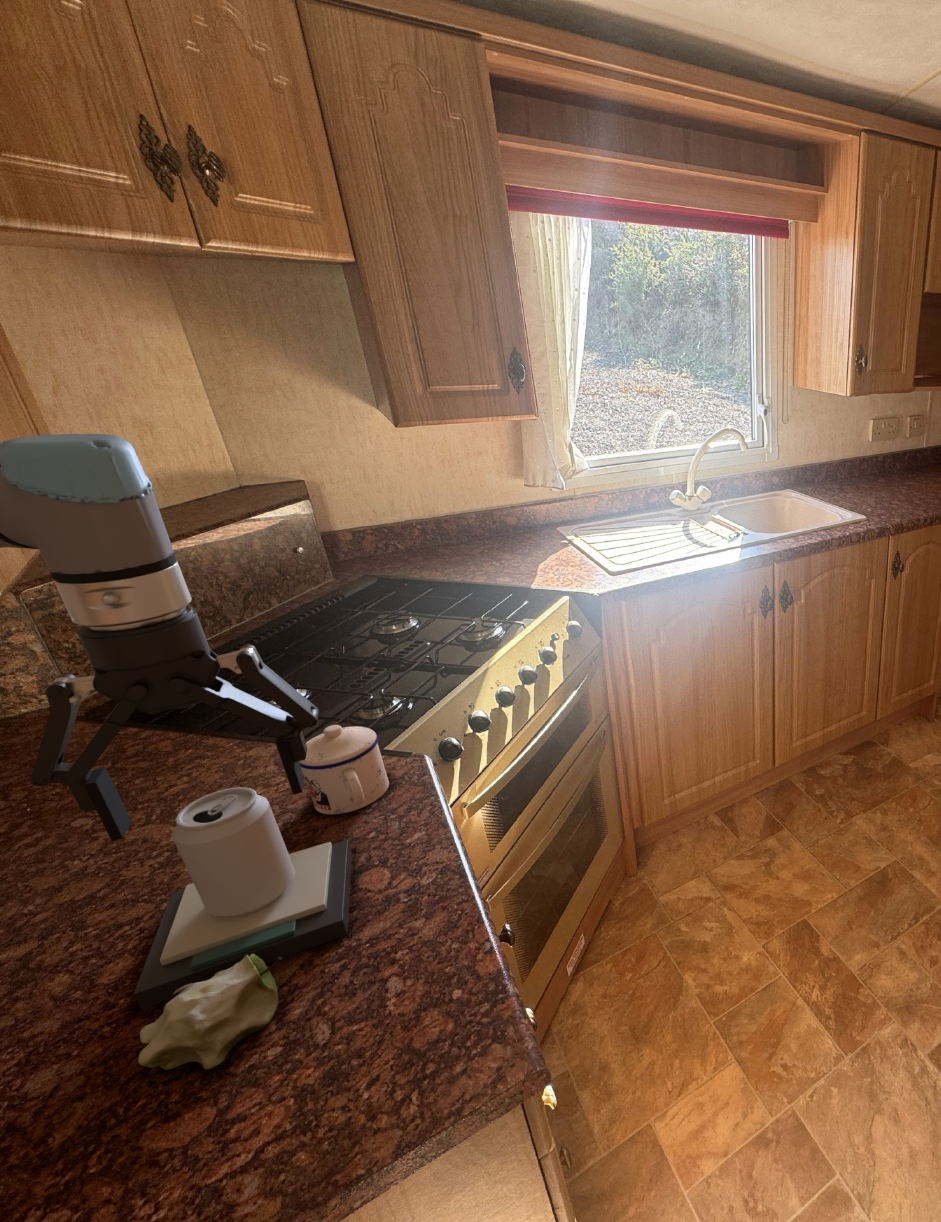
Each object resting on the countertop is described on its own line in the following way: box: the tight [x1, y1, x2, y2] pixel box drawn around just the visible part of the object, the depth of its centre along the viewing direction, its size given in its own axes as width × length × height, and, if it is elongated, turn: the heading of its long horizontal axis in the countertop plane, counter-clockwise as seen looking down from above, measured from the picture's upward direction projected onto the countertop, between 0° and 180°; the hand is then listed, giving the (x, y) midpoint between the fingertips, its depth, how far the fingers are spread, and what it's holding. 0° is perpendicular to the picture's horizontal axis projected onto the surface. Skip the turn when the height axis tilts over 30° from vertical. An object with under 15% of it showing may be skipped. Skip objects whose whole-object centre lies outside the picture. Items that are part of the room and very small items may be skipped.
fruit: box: [137, 954, 283, 1071], centre depth 58 cm, size 9×9×8 cm
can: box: [171, 786, 295, 917], centre depth 67 cm, size 8×8×12 cm
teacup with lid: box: [299, 724, 390, 815], centre depth 86 cm, size 12×9×12 cm
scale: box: [133, 839, 353, 1010], centre depth 69 cm, size 16×14×4 cm
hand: (215, 808), depth 65 cm, fingers open, 13 cm apart
